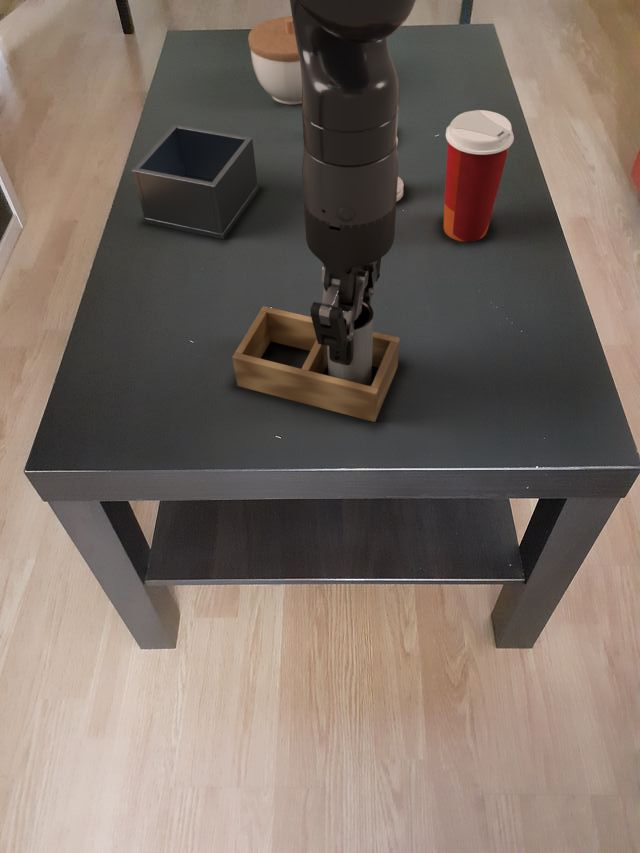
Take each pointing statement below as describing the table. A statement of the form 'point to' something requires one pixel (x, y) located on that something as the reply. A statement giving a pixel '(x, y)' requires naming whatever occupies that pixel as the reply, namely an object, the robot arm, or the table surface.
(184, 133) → the dark grey open box
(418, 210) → the table surface
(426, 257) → the table surface
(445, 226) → the paper cup
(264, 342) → the wooden divided box
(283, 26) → the lidded bowl
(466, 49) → the table surface
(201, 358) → the table surface
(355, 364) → the grey hollow cylinder
